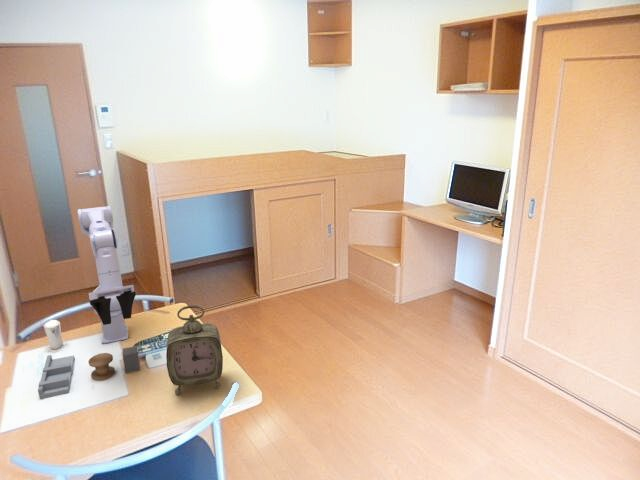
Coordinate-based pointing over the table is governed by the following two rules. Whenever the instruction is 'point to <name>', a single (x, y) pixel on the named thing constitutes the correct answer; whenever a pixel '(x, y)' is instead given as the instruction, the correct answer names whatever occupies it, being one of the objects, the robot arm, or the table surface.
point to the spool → (102, 366)
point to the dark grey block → (131, 359)
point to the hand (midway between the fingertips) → (117, 321)
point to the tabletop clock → (194, 352)
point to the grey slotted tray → (56, 376)
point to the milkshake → (53, 333)
